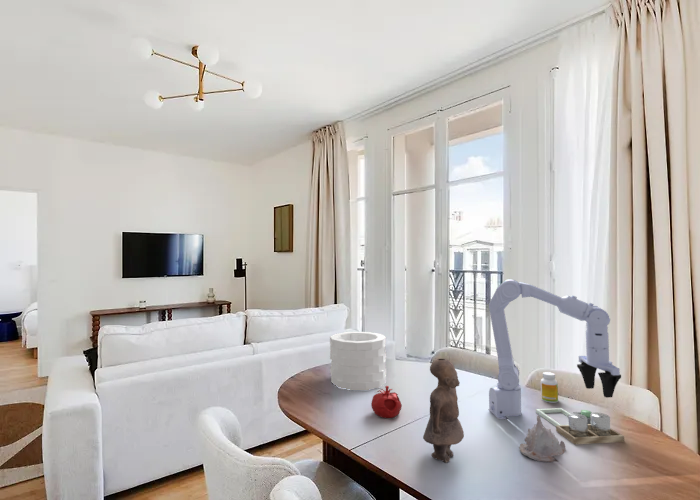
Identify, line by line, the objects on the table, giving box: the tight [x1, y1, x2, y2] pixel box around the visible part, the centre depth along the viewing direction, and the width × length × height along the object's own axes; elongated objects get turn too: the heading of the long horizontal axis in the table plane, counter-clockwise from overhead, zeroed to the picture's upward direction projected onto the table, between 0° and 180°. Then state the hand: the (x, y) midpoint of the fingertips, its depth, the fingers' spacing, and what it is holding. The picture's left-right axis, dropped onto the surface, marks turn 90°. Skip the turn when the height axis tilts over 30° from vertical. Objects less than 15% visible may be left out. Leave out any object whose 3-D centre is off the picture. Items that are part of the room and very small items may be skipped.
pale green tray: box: [535, 407, 571, 427], centre depth 117 cm, size 9×13×2 cm
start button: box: [580, 409, 593, 418], centre depth 117 cm, size 3×3×2 cm
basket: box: [329, 331, 387, 391], centre depth 161 cm, size 25×24×19 cm
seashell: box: [518, 414, 567, 463], centre depth 100 cm, size 10×12×9 cm
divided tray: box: [555, 424, 625, 445], centre depth 106 cm, size 14×8×2 cm, turn 94°
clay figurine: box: [422, 358, 465, 464], centre depth 98 cm, size 13×10×25 cm
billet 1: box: [567, 413, 588, 437], centre depth 106 cm, size 5×5×6 cm
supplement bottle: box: [540, 371, 559, 404], centre depth 136 cm, size 5×5×10 cm
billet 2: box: [590, 412, 611, 436], centre depth 107 cm, size 5×5×6 cm
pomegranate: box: [370, 385, 403, 419], centre depth 125 cm, size 10×10×9 cm
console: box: [573, 411, 591, 424], centre depth 117 cm, size 5×5×2 cm
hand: (598, 392), depth 114 cm, fingers open, 7 cm apart
